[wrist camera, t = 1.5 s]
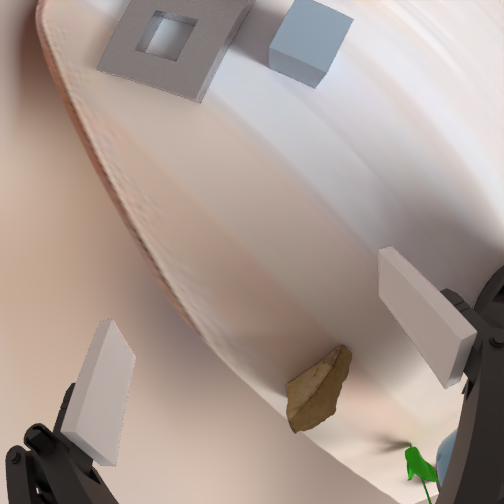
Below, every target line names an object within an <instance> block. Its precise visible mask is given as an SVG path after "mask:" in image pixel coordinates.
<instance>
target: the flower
mask: <svg viewBox="0 0 504 504" xmlns="http://www.w3.org/2000/svg"><path fill="white" fill-rule="evenodd" d="M405 457H406V460H407V471H408V477H409V478H408V480H411V479H412V477H413V476H414V474H416V475H418V476H419V477H421V480H422V483H423V485H424V488H425V491H426V494H427V497H428V500H429V504H432V503H431V500H430V497H429V494H428V492H427V489H426V486H425V483H424V480H423V478H424V479H427V480H430V481H432V482H436V481H438V482H439V479H438V478H437V476H436V473H435V470H434V468H433V467H432V466H431V465H430V464H429V463H427V462H426V461H425V460H424V459H423V458H422V456H421V455H420V452H419V450H418V449H417V448H416V447H412V446H411V445H410V448H408V449H407V450H406V451H405ZM408 480H407V481H408Z"/></svg>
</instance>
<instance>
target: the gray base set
mask: <svg viewBox="0 0 504 504" xmlns="http://www.w3.org/2000/svg"><path fill="white" fill-rule="evenodd" d="M254 2H255V0H132V1H131V3H130V5H129V6H128V8H127V10H126V12H125V13H124V15H123V17H122V19H121V20H120V22H119V24H118V26H117V28H116V30H115V32H114V34H113V36H112V37H111V39H110V41H109V43H108V45H107V48H106V50H105V52H104V54H103V56H102V58H101V60H100V62H99V65H98V67H97V70H99V71H102V72H105V73H107V74H111V75H115V76H118V77H122V78H125V79H129V80H132V81H136V82H139V83H142V84H145V85H149V86H152V87H155V88H158V89H161V90H164V91H167V92H170V93H173V94H176V95H179V96H182V97H184V98H187V99H190V100H193V101H195V102H198V103H201V102H202V100H203V97H204V95H205V93H206V91H207V89H208V87H209V85H210V83H211V81H212V79H213V77H214V75H215V73H216V71H217V69H218V67H219V65H220V63H221V61H222V59H223V57H224V55H225V53H226V51H227V50H228V48H229V46H230V44H231V42H232V40H233V38H234V37H235V35H236V33H237V31H238V29H239V28H240V26H241V24H242V22H243V21H244V19H245V17H246V15H247V14H248V12H249V10H250V9H251V7H252V5H253V4H254ZM163 18H165V19H170V20H174V21H178V22H182V23H186V24H190V25H194V26H195V27H194V29H193V30H192V32H191V34H190V36H189V38H188V40H187V41H186V43H185V45H184V47H183V49H182V51H181V53H180V55H179V57H178V59H177V61H176V62H175V61H172V60H169V59H165V58H162V57H158V56H155V55H151V54H147V53H145V51H146V49H147V47H148V45H149V43H150V41H151V40H152V38H153V36H154V34H155V32H156V30H157V28H158V27H159V25H160V23H161V21H162V19H163Z"/></svg>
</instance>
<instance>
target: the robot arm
mask: <svg viewBox="0 0 504 504" xmlns="http://www.w3.org/2000/svg"><path fill="white" fill-rule="evenodd" d="M378 282H379V297H380V299H381V300H382V301H383V303H384V304H385V305H386V307H387V308H388V309H389V311H390V312H391V313H392V315H393V316H394V317H395V319H396V320H397V321H398V323H399V324H400V325H401V327H402V328H403V330H404V331H405V332H406V334H407V335H408V336H409V338H410V339H411V341H412V342H413V343H414V345H415V346H416V348H417V349H418V351H419V352H420V353H421V355H422V356H423V358H424V359H425V361H426V362H427V363H428V365H429V366H430V368H431V369H432V371H433V372H434V374H435V375H436V377H437V378H438V380H439V381H440V383H441V384H442V386H443V387H444V389H446V388H448V387H450V386H452V385H454V384H456V383H458V382H459V381H460V380H461V377H462V375H463V372H464V373H465V374H466V376H467V377H468V379H467V382H466V384H465V386H464V389H463V391H462V394H464V393H465V394H464V400H463V406H462V411H461V416H460V421H459V426H458V428H457V429H456V430H455V431H454V432H453V433H452V434H450V435H449V436H448V437H447V438H446V439H444V441H443V442H442V443H441V444H440V446H439V448H438V451H437V457H436V463H437V474H438V479H439V482H440V486H441V490H440V493H439V496H438V498H437V501H436V503H435V504H504V267H502V268H501V269H500V270H499V271H498V272H497V273H496V274H495V275H494V276H493V277H492V278H491V280H490V281H489V282H488V283H487V285H486V286H485V288H484V290H483V291H482V293H481V295H480V297H479V299H478V301H477V303H476V306H475V308H474V310H473V309H472V308H470V306H469V305H468V304H467V303H466V302H464V300H463V299H462V298H461V297H460V296H459V295H458V294H457V293H455V292H453V291H451V290H449V289H444V290H442V291H440V292H439V291H438V290H437V289H436V288H435V287H434V286H433V285H432V284H431V283H430V282H429V281H428V280H427V279H426V278H425V277H424V276H423V275H422V274H421V273H420V272H419V271H418V270H417V269H416V268H415V267H414V266H413V265H412V264H411V263H410V262H408V261H407V260H406V259H405V258H404V257H403V256H402V255H401V254H400V253H399V252H398V251H397V250H395V249H394V248H393V247H392V246H389V247H386V248H382V249H379V250H378ZM135 360H136V356H135V355H134V353H133V352H132V350H131V349H130V347H129V345H128V344H127V342H126V340H125V339H124V337H123V336H122V334H121V332H120V331H119V329H118V327H117V325H116V324H115V322H114V320H113V319H108V320H103V321H100V322H99V325H98V327H97V330H96V332H95V334H94V337H93V340H92V342H91V344H90V347H89V349H88V352H87V355H86V357H85V360H84V362H83V365H82V368H81V371H80V373H79V376H78V379H77V382H76V383H72V384H71V385H70V387H69V388H68V390H67V391H66V393H65V396H64V399H63V403H62V405H61V407H60V408H61V410H59V414H58V417H57V420H56V423H55V426H54V429H53V432H51V431H50V430H49V429H48V428H47V427H46V426H44V425H43V424H41V423H37V424H34V425H32V426H31V427H30V428H29V429H28V430H27V431H26V433H25V436H24V444H25V445H26V446H27V447H28V448H29V449H31V450H30V451H26V450H25V449H24V448H23V447H21V446H19V445H16V446H14V447H12V448H10V450H9V451H8V453H7V455H6V460H5V462H6V480H7V491H8V500H9V504H119V503H118V502H117V500H116V499H115V498H114V496H113V495H112V493H111V492H110V491H109V489H108V487H107V486H106V484H105V483H104V481H103V480H102V478H101V477H100V475H99V474H98V472H97V470H96V469H95V468H94V467H93V466H92V463H93V460H94V461H96V462H97V463H98V464H100V465H101V466H116V463H117V455H118V449H119V443H120V437H121V431H122V425H123V419H124V414H125V408H126V403H127V398H128V393H129V388H130V383H131V378H132V374H133V369H134V365H135ZM36 488H38V491H39V494H38V493H37V490H36Z"/></svg>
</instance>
